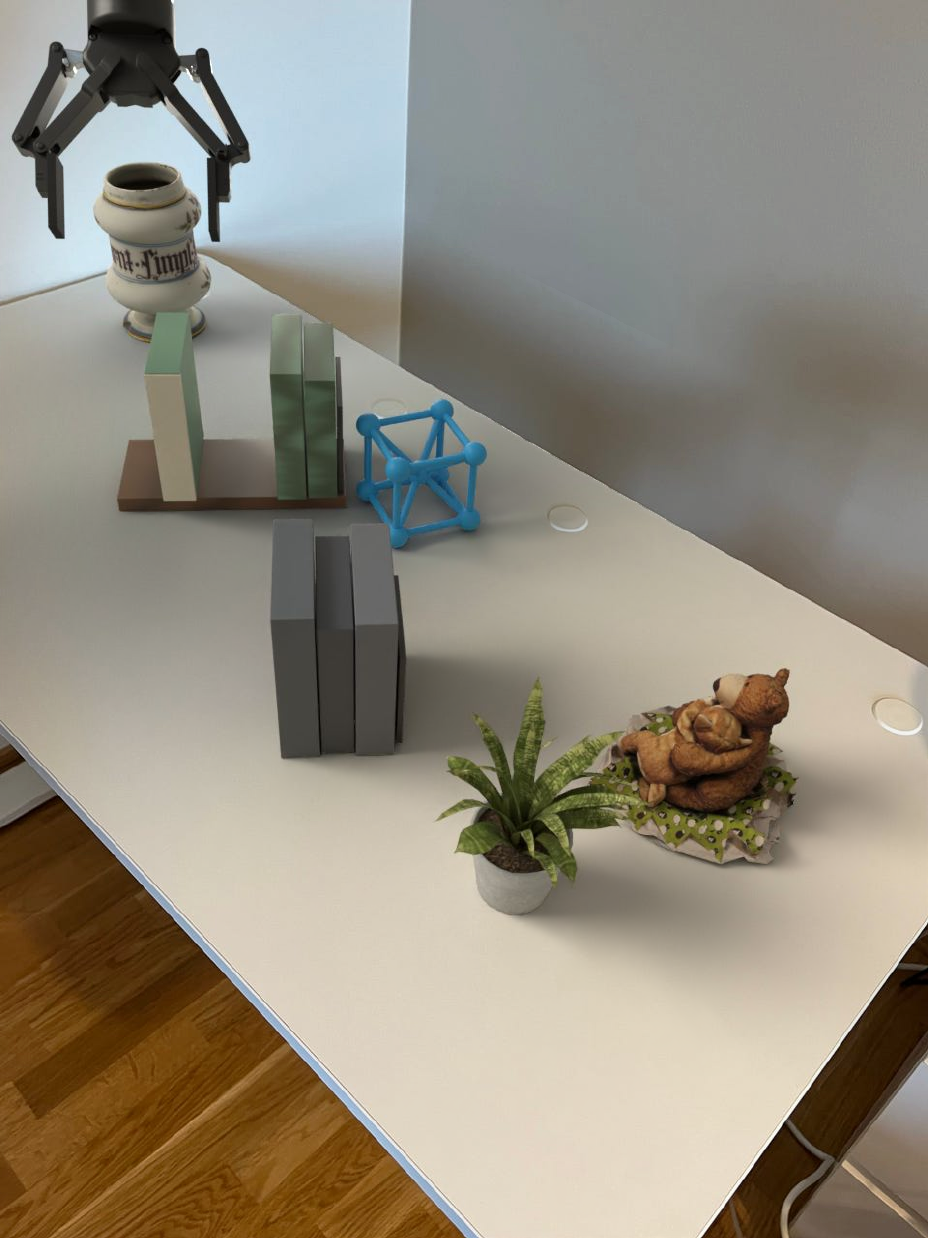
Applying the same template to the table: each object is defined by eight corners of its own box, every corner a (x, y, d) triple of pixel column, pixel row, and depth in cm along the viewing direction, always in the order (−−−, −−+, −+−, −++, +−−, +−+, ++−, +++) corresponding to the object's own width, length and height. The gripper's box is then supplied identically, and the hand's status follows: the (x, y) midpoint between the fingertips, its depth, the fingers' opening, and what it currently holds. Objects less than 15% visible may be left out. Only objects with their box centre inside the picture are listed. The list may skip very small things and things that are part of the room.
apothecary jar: (97, 313, 131) (69, 164, 118) (188, 291, 137) (170, 146, 124) (139, 358, 124) (114, 205, 112) (232, 332, 130) (219, 184, 117)
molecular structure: (389, 554, 102) (390, 469, 95) (352, 494, 108) (352, 410, 101) (483, 532, 105) (492, 448, 98) (443, 475, 112) (448, 392, 105)
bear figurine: (630, 695, 91) (658, 589, 82) (804, 762, 87) (852, 657, 78) (572, 812, 81) (597, 706, 73) (764, 893, 77) (813, 790, 69)
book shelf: (118, 514, 103) (90, 373, 93) (131, 448, 111) (107, 311, 101) (346, 511, 106) (345, 374, 96) (343, 447, 114) (342, 314, 103)
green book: (163, 502, 103) (143, 374, 93) (173, 436, 111) (156, 312, 101) (196, 501, 103) (179, 374, 94) (204, 435, 111) (189, 312, 102)
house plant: (515, 1035, 68) (546, 897, 57) (366, 899, 75) (367, 751, 64) (645, 897, 76) (694, 752, 65) (500, 785, 83) (523, 636, 72)
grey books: (281, 759, 83) (270, 620, 73) (283, 656, 91) (273, 518, 81) (403, 754, 84) (409, 617, 74) (394, 653, 92) (399, 516, 82)
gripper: (275, 28, 101) (280, 252, 100) (-3, 16, 97) (2, 247, 97) (270, -21, 93) (276, 221, 93) (-30, -36, 90) (-26, 214, 90)
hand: (136, 235), depth 95 cm, fingers open, 13 cm apart
